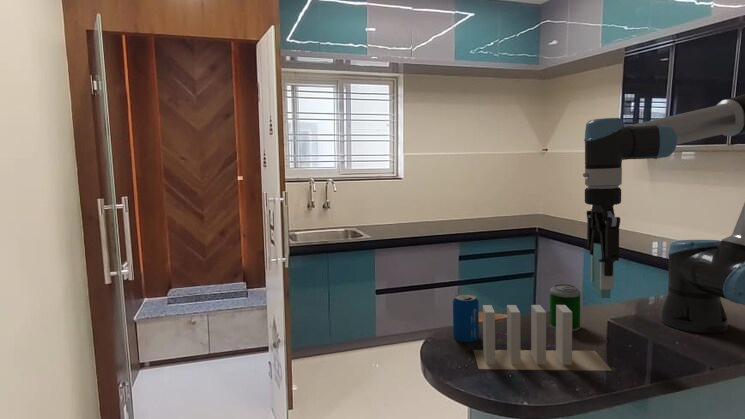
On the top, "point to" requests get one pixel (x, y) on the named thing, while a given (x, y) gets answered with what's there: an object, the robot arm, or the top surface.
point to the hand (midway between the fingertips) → (601, 285)
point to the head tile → (598, 272)
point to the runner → (579, 361)
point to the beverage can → (465, 318)
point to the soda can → (565, 303)
